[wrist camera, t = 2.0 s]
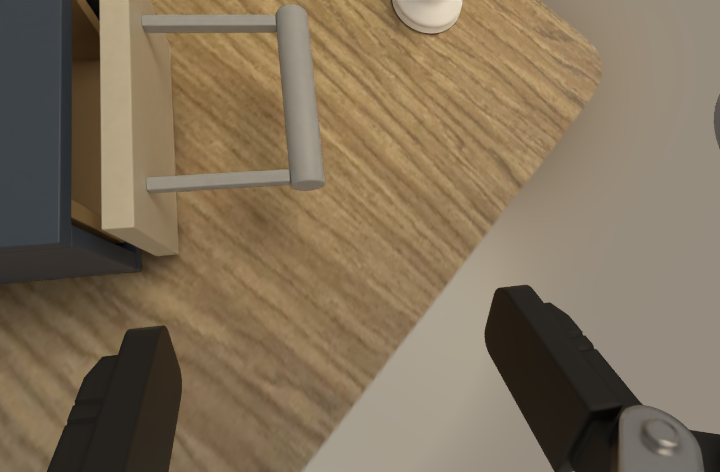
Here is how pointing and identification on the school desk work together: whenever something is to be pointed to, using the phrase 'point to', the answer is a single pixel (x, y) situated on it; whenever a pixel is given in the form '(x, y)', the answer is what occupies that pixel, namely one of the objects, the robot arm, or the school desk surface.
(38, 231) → the cabinet
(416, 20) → the chess piece
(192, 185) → the drawer
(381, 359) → the school desk surface
